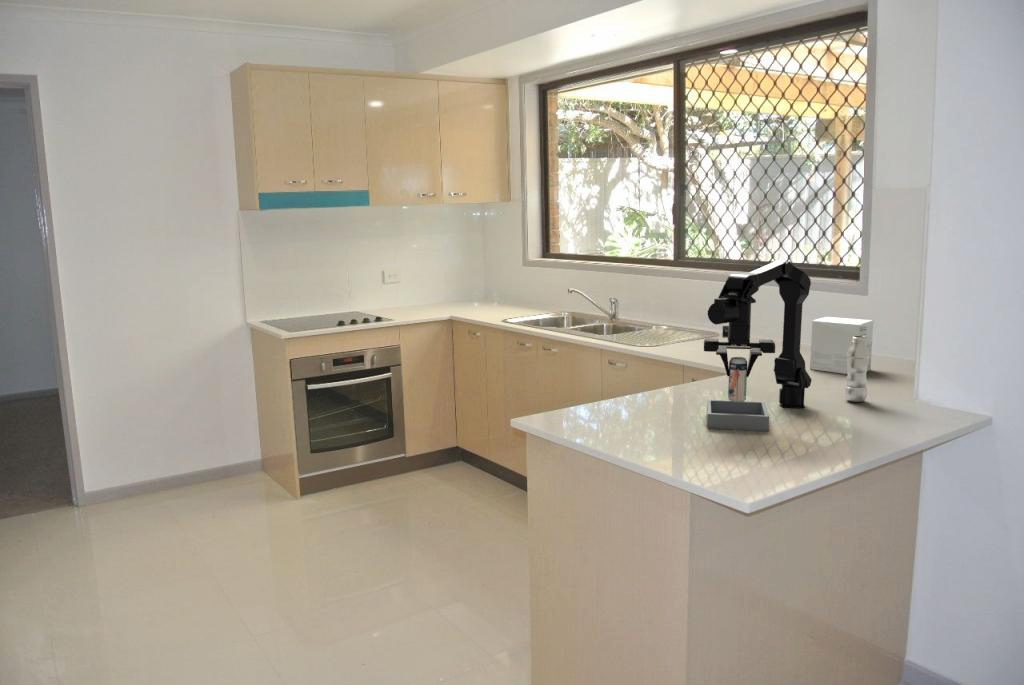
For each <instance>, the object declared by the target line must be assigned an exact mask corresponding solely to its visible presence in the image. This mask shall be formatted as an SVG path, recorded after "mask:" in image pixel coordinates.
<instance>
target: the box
mask: <svg viewBox="0 0 1024 685" xmlns="http://www.w3.org/2000/svg"><path fill="white" fill-rule="evenodd" d="M706 428H707V429H717V430H737V431H738V430H739V431H758V432H760V431H761V432H763V431H764V432H769V431H770V415H769V411H768V408H767V405H766V402H765V401H755V400H754V401H751V400H750V401H749V400H745V401H743V402H732V401H730V400H729V399H728V400H727V399H726V400H725V399H723V400H722V399H706Z"/></svg>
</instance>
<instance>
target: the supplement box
mask: <svg viewBox="0 0 1024 685" xmlns="http://www.w3.org/2000/svg"><path fill="white" fill-rule="evenodd" d="M873 331H874V320H873V319H859V318H858V319H857V318H848V317H847V318H846V317H833V316H825V317H820V318H816V319H813V320H812V321H811V338H810V356H809V370H814V371H821V372H827V373H836V374H843V375H848V363H847V351H848V350H849V348H850V347H851V346H852V345H853V342H852V340H853V336H865V337H866V343H865V346H866V347H867V349H868V351H869V354H870V356H869V361H868V366H867V372H869V371H871V370H872V369H871V368H872V352H873V351H872V349H873V333H874V332H873Z"/></svg>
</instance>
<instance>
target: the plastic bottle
mask: <svg viewBox="0 0 1024 685" xmlns="http://www.w3.org/2000/svg"><path fill="white" fill-rule="evenodd" d="M852 342H853V345H852V346H851V347H850V348H849V350H848V351H847V363H848V374H847V377H846V383H845V387H844V392H843V393H844V398H845V400H847V401H848V402H853V403H860V402H865V401H866V399H867V397H868V388H867V372H868V371H867V366H868V361H869V356H870V354H869V351H868V349H867V347H866V346H865V343H866V337H865V336H853V340H852Z"/></svg>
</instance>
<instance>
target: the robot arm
mask: <svg viewBox="0 0 1024 685" xmlns="http://www.w3.org/2000/svg"><path fill="white" fill-rule="evenodd" d="M772 281H774V282H775V284H776V285H778V290H779V291H778V292H779V295H780V297H781V299H782V301H783V304H784V307H783V324H782V325H783V327H782V329H783V330H782V348H781V349H782V350H781V352H780V354H779V355H778V357H775V358H774V360H773V362H774V368H773V372H774V377H775V384H776V385H781V388H779V393H778V394H779V395H778V402H779V403H778V404H780V405H781V407H782V408H793V409H794V408H795V409H798V408H799V409H805V408H806V405H805V393H806V392H805V390H806V389H809V387H810V386H811V384H812V378H811V376H810V374H809V373H808V372H807V370H806V361H805V359H804V357H803V355H802V354H801V337H802V336H801V335H802V323H803V322H802V318H803V305H804V304H803V303H804V302H805V300H806V299H807V298H808V296H809V295H810V288H811V285H812V281H811V278H810V276H809V275H808V274H806V272H804V271H803V270H802V269H800V268H798V267H796V266H795V265H794V264H792V262H790V261H788V260H777V259H776V260H774V261H772V262H770V263H768V264H766V265H764V266H761V267H760V268H756V269H754V270H752V271H749V272H739V273H731V274H729V275H728V277H727V279H726V280H725V283H724V285H723V287H722V288H721V291H720V293H719V294H718V296H717V298H714V300H713V301H714V302H713V303H712V304H711V305H710V306H709V308H708V309H707V317H708V319H709V321H710V322H711V323H712V324H714V325H722V324H728V325H722V333H721V334H722V335H721V336H722V338H723V339H724V338H727V341H719V338H712V337H711V338H707V337H706V338H704V340H703V352H705V353H706V352H711V353H713V352H715V355H717V356H719V357H720V358H721V361H722V363H723V367H724V369H725V372H726V376H727V377H729V358H728V351H727V349H729V350H731V349H732V350H733V349H734V350H749V353H748V354H749V355H748V360H747V378H749V376H750V374H751V372H752V369H753V366H754V364H755V363H756V361H757V359H758V358H759V357H762V356H763V354H776V343H775V341H774V340H773V339H758V342H751V318H752V317H751V316H752V304H756V302H757V300H756V298H754V297H753V295H754V294H756V293H757V292H759V290H760V287H761V286H763V285H766V284H768V283H771V282H772Z"/></svg>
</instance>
